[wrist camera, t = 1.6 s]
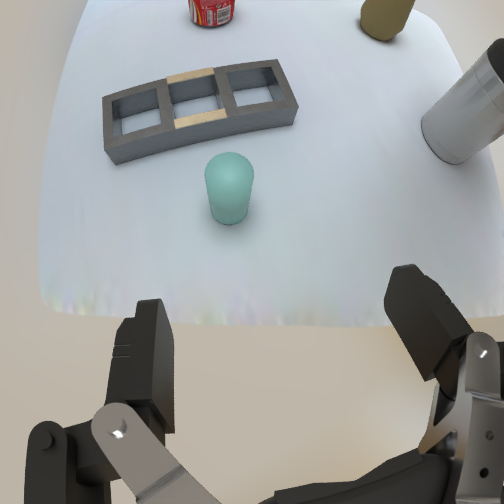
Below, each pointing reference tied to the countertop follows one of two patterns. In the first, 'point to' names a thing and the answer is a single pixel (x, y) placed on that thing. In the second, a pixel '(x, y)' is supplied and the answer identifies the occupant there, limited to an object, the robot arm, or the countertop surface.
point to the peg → (229, 186)
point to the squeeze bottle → (385, 17)
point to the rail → (197, 125)
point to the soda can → (211, 11)
